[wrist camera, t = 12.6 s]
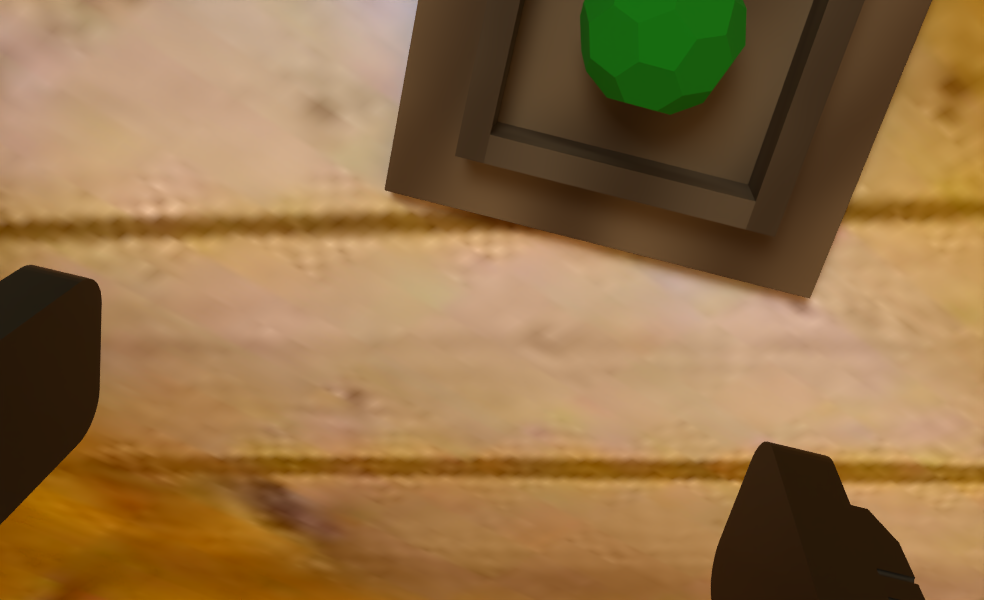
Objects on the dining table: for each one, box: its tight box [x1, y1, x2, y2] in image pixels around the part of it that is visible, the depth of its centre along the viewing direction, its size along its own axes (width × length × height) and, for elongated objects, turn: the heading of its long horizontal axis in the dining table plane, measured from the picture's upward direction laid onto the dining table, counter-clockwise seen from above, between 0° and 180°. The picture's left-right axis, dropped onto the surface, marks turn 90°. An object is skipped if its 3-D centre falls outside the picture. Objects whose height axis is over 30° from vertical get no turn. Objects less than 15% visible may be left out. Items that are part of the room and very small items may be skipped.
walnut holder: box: [385, 0, 932, 298], centre depth 29 cm, size 16×16×3 cm
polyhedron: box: [580, 0, 747, 115], centre depth 28 cm, size 5×5×5 cm
